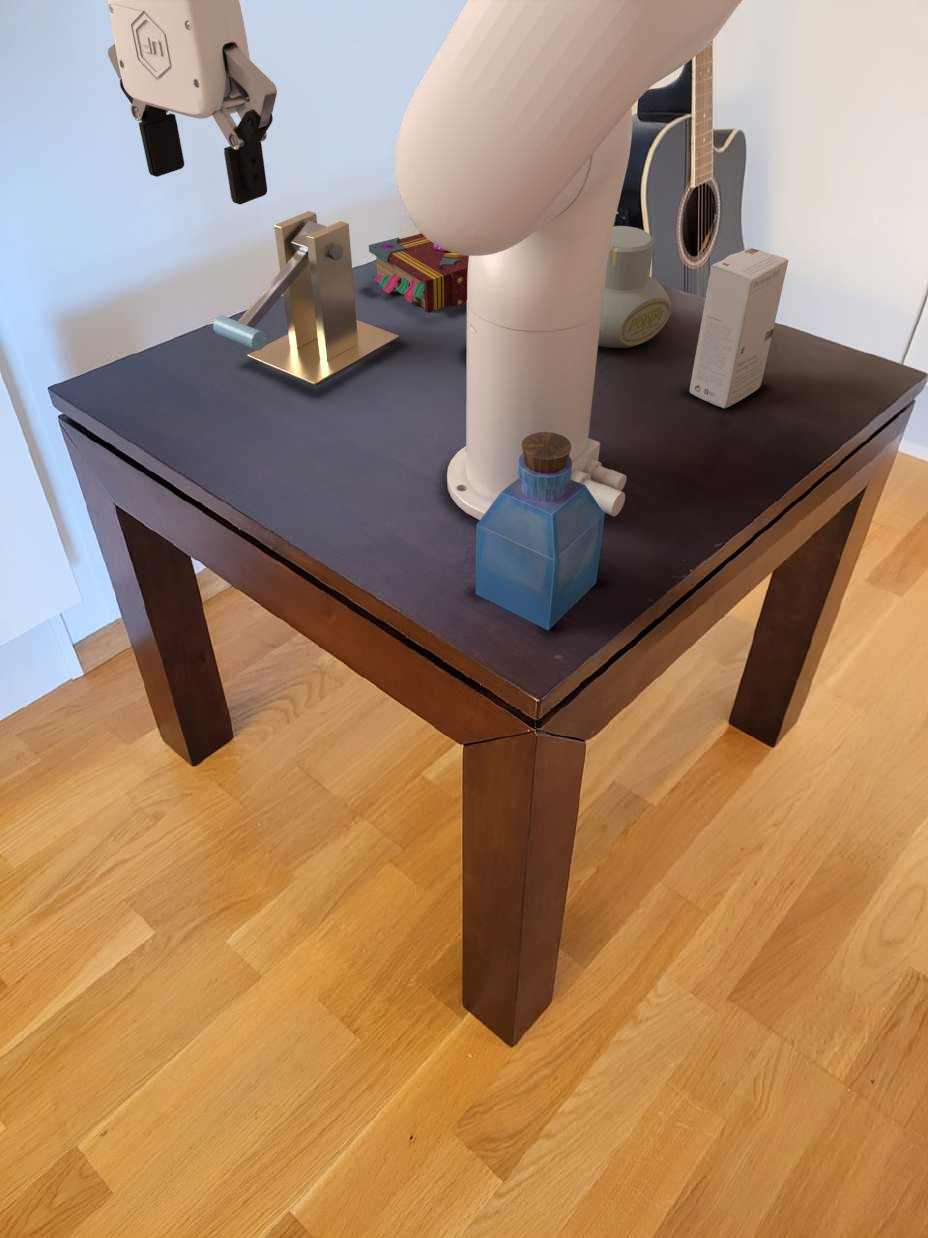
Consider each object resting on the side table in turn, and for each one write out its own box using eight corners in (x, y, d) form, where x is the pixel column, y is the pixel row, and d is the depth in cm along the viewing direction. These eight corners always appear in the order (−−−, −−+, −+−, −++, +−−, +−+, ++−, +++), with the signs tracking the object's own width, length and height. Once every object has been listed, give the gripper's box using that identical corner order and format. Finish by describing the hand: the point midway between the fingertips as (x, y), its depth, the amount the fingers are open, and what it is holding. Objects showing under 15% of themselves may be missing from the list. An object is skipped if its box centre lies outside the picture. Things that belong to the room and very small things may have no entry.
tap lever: (259, 357, 83) (247, 338, 81) (220, 341, 85) (207, 322, 83) (347, 250, 86) (337, 229, 84) (308, 237, 88) (297, 216, 86)
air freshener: (602, 367, 91) (614, 265, 85) (544, 336, 96) (550, 237, 89) (678, 334, 96) (695, 235, 90) (619, 306, 101) (631, 210, 94)
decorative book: (540, 287, 105) (542, 242, 101) (418, 325, 98) (417, 278, 94) (479, 253, 111) (480, 210, 108) (361, 287, 105) (358, 242, 101)
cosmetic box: (726, 410, 86) (754, 280, 77) (685, 393, 88) (708, 264, 80) (763, 386, 89) (794, 258, 80) (722, 370, 91) (748, 244, 83)
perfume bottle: (548, 630, 65) (561, 485, 56) (475, 594, 67) (477, 450, 59) (595, 583, 68) (614, 440, 60) (525, 550, 71) (533, 409, 63)
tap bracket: (315, 395, 88) (299, 258, 79) (248, 366, 92) (226, 232, 83) (400, 346, 94) (393, 215, 86) (334, 321, 98) (321, 194, 90)
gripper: (36, -88, 65) (100, 174, 77) (205, -62, 57) (247, 225, 69) (126, -99, 69) (173, 150, 81) (293, -76, 62) (319, 196, 73)
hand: (207, 184), depth 75 cm, fingers open, 9 cm apart
